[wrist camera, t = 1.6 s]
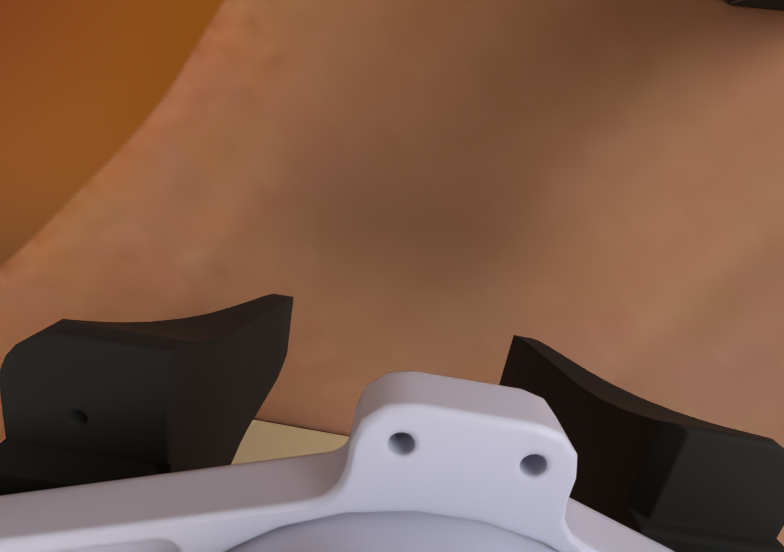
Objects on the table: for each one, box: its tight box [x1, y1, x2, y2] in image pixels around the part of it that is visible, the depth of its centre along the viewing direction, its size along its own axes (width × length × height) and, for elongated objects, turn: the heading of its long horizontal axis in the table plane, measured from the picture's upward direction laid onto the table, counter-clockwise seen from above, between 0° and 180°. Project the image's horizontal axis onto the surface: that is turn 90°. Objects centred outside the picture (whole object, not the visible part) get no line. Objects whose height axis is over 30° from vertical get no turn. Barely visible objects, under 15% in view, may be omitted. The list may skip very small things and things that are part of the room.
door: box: [231, 420, 349, 465], centre depth 21 cm, size 6×16×10 cm, turn 79°
